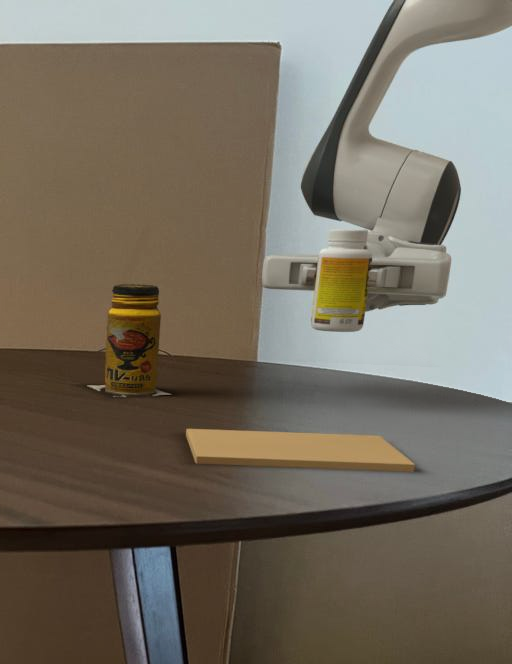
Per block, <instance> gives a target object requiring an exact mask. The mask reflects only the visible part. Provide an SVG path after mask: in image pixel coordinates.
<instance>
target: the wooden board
mask: <svg viewBox="0 0 512 664" xmlns="http://www.w3.org/2000/svg"><path fill="white" fill-rule="evenodd" d="M185 437H186V440H187V443H188V446H189V449H190V451H191V454H192V456H193V460H194V463H195V464H197V465H221V466H222V465H224V466H245V467H246V466H250V467H272V468H273V467H276V468H297V469H300V468H301V469H303V468H304V469H327V470H328V469H329V470H330V469H331V470H351V471H353V470H354V471H377V472H378V471H379V472H403V473H404V472H408V473H415V468H416V464H415V463H414V462H413V461H412V460H410V459H409V458H408V457H407V456H405V455H404V454H403V453H402V452H401V451H399V450H398V449H397V448H396V447H394V446H393V445H392V444H391V443H389V442H388V441H387V440H385V438H383V437H382V436H381V435H371V434H369V435H368V434H346V433H345V434H343V433H316V432H293V431H292V432H290V431H289V432H287V431H286V432H285V431H265V430H264V431H262V430H261V431H259V430H235V429H231V430H230V429H207V428H206V429H205V428H186V430H185Z"/></svg>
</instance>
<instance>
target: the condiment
mask: <svg viewBox="0 0 512 664" xmlns="http://www.w3.org/2000/svg"><path fill="white" fill-rule="evenodd" d="M111 292H112V298H111V308H110V309H109V311H108V313H107V324H106V344H105V353H104V355H105V361H104V362H105V363H104V370H105V372H104V382H105V383H104V384H102V385H101V384H99V385H94V384H93V385H92V384H91V385H88V387H89V388H90V389H93V390H96V391H98V392H101V390H102V389H104V392H105V393H107V394H113V396H112V397H114V398H115V397H116V398H117V396H118V398H119V397H120V398H122V397H123V398H127V397H129V396H130V397H143V396H145V397H148V396H152V397H156V396H165V395H172V393H168V392H165V391H161V390H160V389H157V388H156V387H157V385H158V383H157V381H158V369H159V368H158V367H159V353H160V352H159V350H160V334H161V319H162V316H161V311H160V310H159V308H158V305H159V303H160V300H159V297H160V296H159V295H160V290H159V287H158V286H157V285H153V284H139V283H138V284H134V283H128V284H127V283H125V284H124V283H123V284H115V285H114V286H113V287H112V290H111Z"/></svg>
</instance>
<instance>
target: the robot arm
mask: <svg viewBox="0 0 512 664" xmlns="http://www.w3.org/2000/svg"><path fill="white" fill-rule="evenodd" d="M510 27H512V0H393V1H392V2H391V4H390V5H389V7H388V9H387V11H386V12H385V14H384V16H383V18H382V20H381V21H380V24H379V25H378V28H377V29H376V31H375V33H374V35H373V37H372V39H371V40H370V43H369V44H368V47H366V50H365V52H364V54H363V57H362V59H361V61H360V62H359V64H358V66H357V69H356V70H355V72H354V74H353V76H352V79H351V81H350V83H349V85H348V86H347V88H346V90H345V92H344V94H343V97H342V99H341V101H340V102H339V104H338V107H337V108H336V111H335V113H334V115H333V117H332V118H331V121H330V122H329V124H328V126H327V128H326V130H325V131H324V133H323V135H322V136H321V139H320V140H319V142H318V143H317V145H316V146H315V147H314V149H313V151H312V152H311V154H310V156H309V158H308V160H307V162H306V164H305V166H304V168H303V173H302V177H301V181H300V190H301V193H302V196H303V199H304V200H305V203H306V204H307V207H308V208H309V210H310V211H311V213H312V214H313V216H316V217H320V218H324V219H329V220H333V221H337V222H344V223H348V224H351V225H354V226H357V227H360V228H362V229H364V230H368V235H367V242H366V243H367V245H365V246H364V249H368V250H370V251H371V252H372V254H373V256H372V264H371V269H369V271H368V277H369V279H368V280H367V287H368V294H367V302H366V309H365V313H366V312H370V311H374V310H384V309H386V308H391V307H395V306H396V307H397V306H400V307H403V306H427V305H436V304H437V303H438V302H439V300H441V299H443V298H445V297H446V296H447V292H448V285H449V279H450V273H451V266H452V257H451V254H449V253H447V246H446V245H444V244H443V242H444V240H445V239H446V237H447V235H448V233H449V231H450V229H451V227H452V224H453V222H454V219H455V216H456V214H457V211H458V207H459V204H460V200H461V195H462V186H461V181H460V177H459V173H458V170H457V168H456V165H455V164H454V162H453V161H452V160H448V159H446V158H443V157H440V156H437V155H433V154H431V153H427V152H425V151H420V150H418V149H413V148H409V147H405V146H402V145H400V144H396V143H393V142H390V141H387V140H383V139H380V138H377V137H375V136H373V135H372V134H371V132H370V125H371V123H372V120H373V119H374V117H375V115H376V114H377V112H378V109H379V107H380V105H381V103H382V102H383V100H384V98H385V96H386V94H387V93H388V90H389V89H390V87H391V85H392V83H393V80H394V79H395V77H396V75H397V73H398V71H399V69H400V68H401V66H402V64H404V62H405V60H406V59H407V58H408V57H409V56H410V55H412V54H413V53H415V52H416V51H418V50H420V49H423V48H426V47H430V46H433V45H439V44H448V43H453V42H462V41H469V40H475V39H480V38H484V37H488V36H491V35H494V34H497V33H500V32H502V31H504V30H506V29H508V28H510ZM318 256H319V254H302V253H301V254H299V253H298V254H297V253H296V254H295V253H292V254H291V253H290V254H289V253H287V254H286V253H284V254H283V253H282V254H269V255H266V256H265V257H264V259H263V264H262V270H261V271H262V272H261V286H262V287H263V288H265V289H268V290H283V291H285V290H286V291H304V292H305V291H306V292H307V291H309V292H314V290H315V281H316V273H317V264H318Z"/></svg>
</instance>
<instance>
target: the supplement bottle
mask: <svg viewBox="0 0 512 664" xmlns="http://www.w3.org/2000/svg"><path fill="white" fill-rule="evenodd" d="M368 232H369V230H368V229H354V228H351V229H349V228H348V229H347V228H331V229H329V231H328V238H327V245H328V247H327V248H322V249H320V251H319V253H318V255H319V256H318V264H317V273H316V281H315V290H314V291H313V300H312V310H311V317H310V326H311V328H312V329H313V330H315V331H322V332H333V333H335V332H336V333H355V332H359V331H361V330H362V329H363V327H364V322H365V316H366V312H365V309H366V302H367V294H368V287H367V280H368V279H369V277H368V271H369V269H371V264H372V256H373V254H372V252H371V251H370V250H368V249H364V246H365V245H367V243H366V242H367V235H368Z"/></svg>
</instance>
